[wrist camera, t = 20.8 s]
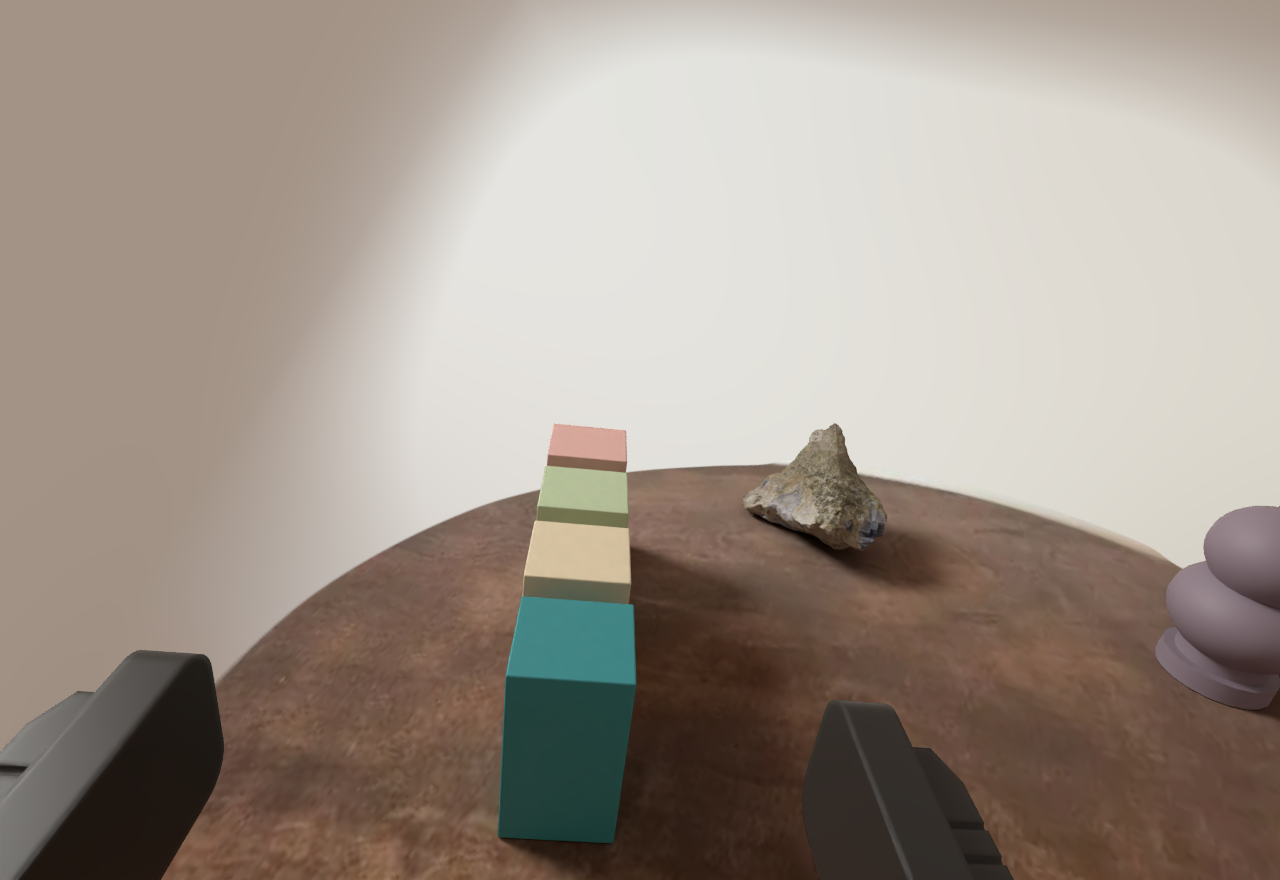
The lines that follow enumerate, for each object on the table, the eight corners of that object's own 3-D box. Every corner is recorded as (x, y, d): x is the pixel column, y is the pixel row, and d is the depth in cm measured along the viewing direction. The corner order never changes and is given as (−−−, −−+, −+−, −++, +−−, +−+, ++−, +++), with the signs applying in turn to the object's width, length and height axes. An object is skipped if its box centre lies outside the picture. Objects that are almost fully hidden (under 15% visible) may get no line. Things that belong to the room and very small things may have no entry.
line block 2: (612, 643, 43) (628, 513, 39) (528, 637, 43) (537, 505, 39) (612, 593, 47) (627, 472, 44) (537, 587, 47) (545, 465, 43)
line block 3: (612, 727, 37) (631, 583, 33) (514, 721, 37) (523, 575, 33) (612, 660, 42) (629, 527, 38) (525, 654, 41) (534, 519, 38)
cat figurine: (1128, 616, 52) (1199, 469, 47) (1256, 654, 50) (1345, 503, 45) (1156, 691, 45) (1244, 526, 40) (1308, 740, 42) (1421, 570, 37)
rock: (730, 492, 60) (818, 410, 60) (766, 530, 63) (850, 453, 63) (800, 568, 51) (906, 472, 50) (838, 609, 54) (938, 519, 53)
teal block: (613, 844, 31) (636, 684, 27) (497, 838, 31) (505, 675, 27) (614, 751, 36) (634, 603, 32) (512, 745, 35) (521, 595, 32)
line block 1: (612, 579, 49) (627, 461, 45) (539, 574, 48) (547, 454, 45) (613, 540, 53) (626, 430, 50) (545, 534, 53) (553, 423, 49)
